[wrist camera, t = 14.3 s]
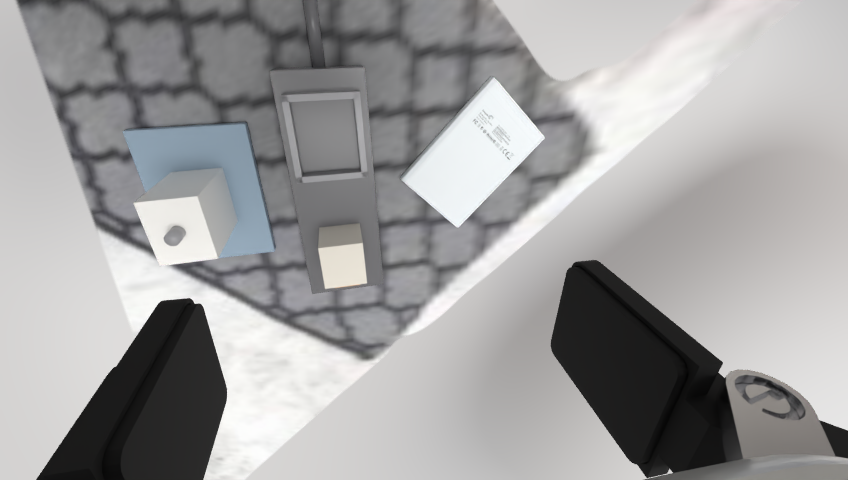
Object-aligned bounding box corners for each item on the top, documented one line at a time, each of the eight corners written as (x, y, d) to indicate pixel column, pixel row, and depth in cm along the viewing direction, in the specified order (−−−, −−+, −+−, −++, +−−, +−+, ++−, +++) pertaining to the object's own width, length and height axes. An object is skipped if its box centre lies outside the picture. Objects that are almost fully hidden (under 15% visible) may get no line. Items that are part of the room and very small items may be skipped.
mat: (127, 129, 30) (122, 131, 30) (246, 122, 32) (244, 124, 31) (175, 259, 36) (172, 263, 35) (275, 247, 38) (274, 251, 37)
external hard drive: (398, 175, 38) (488, 75, 35) (454, 222, 41) (539, 135, 39) (401, 180, 36) (495, 76, 34) (458, 229, 40) (547, 138, 37)
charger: (171, 172, 32) (125, 209, 25) (222, 167, 32) (191, 202, 25) (190, 226, 34) (153, 274, 27) (237, 220, 35) (213, 266, 28)
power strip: (256, -30, 28) (235, -50, 22) (353, -29, 29) (359, -48, 23) (313, 277, 40) (310, 319, 34) (380, 268, 41) (388, 307, 35)
